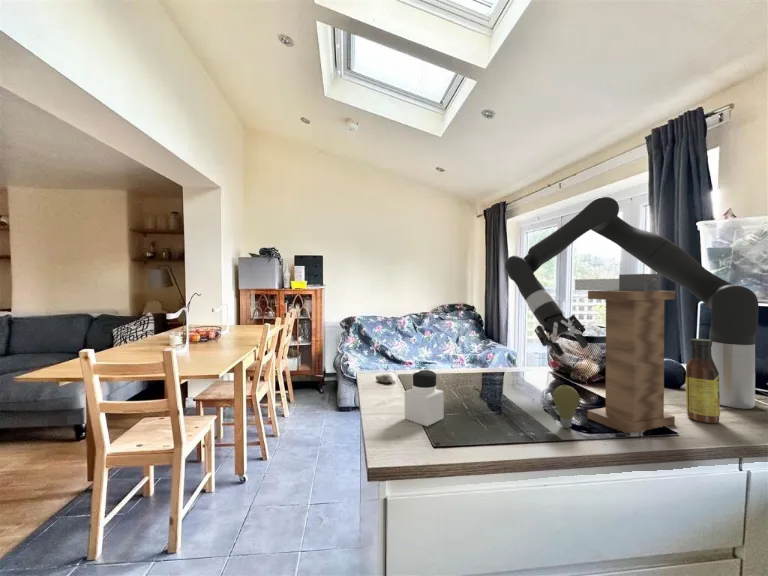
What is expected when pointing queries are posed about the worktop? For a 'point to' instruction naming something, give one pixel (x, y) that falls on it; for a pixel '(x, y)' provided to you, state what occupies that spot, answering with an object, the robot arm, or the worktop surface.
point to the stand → (634, 360)
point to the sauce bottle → (702, 383)
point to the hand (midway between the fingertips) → (573, 351)
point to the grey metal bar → (621, 283)
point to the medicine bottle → (424, 399)
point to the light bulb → (566, 403)
